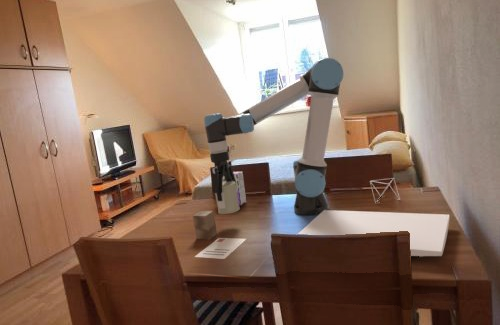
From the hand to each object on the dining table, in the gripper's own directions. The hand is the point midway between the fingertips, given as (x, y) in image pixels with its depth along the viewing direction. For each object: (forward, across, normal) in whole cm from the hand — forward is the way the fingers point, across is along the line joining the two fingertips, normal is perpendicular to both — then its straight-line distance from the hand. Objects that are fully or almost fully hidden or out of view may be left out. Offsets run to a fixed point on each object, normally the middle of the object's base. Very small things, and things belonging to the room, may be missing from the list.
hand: (227, 204), depth 163 cm
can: (+3, 0, 0) cm, 3 cm away
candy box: (+10, -35, -17) cm, 40 cm away
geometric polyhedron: (+12, -39, +58) cm, 71 cm away
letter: (+10, +22, +7) cm, 25 cm away
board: (+12, +8, +58) cm, 60 cm away
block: (+10, +12, -5) cm, 16 cm away
